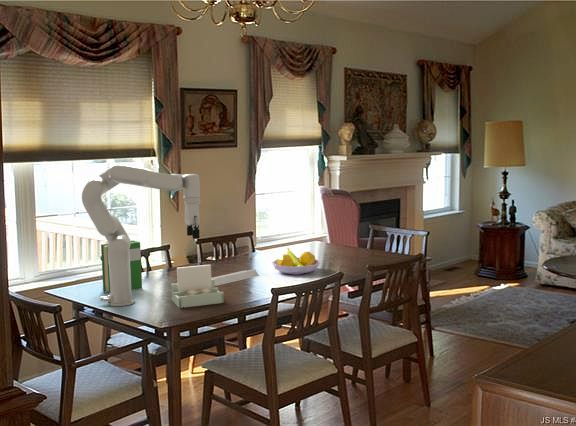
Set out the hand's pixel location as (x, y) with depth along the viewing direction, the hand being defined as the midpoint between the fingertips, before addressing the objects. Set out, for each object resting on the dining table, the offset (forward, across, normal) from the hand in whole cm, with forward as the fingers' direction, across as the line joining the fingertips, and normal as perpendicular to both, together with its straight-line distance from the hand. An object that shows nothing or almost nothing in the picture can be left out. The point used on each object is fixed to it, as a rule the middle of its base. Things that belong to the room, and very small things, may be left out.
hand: (193, 236), depth 314 cm
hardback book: (+30, -36, -28) cm, 54 cm away
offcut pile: (+30, +7, 0) cm, 31 cm away
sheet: (+30, 0, 0) cm, 30 cm away
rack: (+30, +5, 0) cm, 30 cm away
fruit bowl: (+30, -35, +68) cm, 82 cm away
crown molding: (+31, -34, +29) cm, 54 cm away
